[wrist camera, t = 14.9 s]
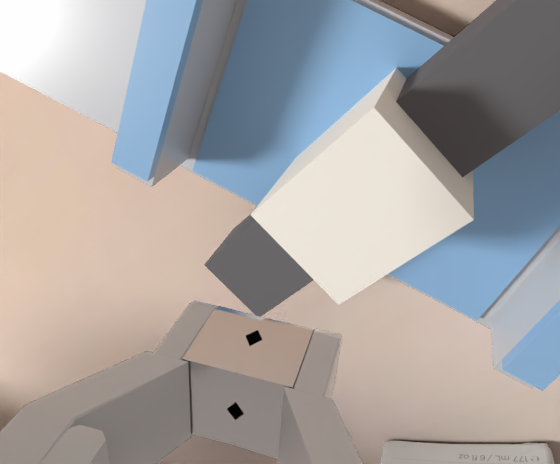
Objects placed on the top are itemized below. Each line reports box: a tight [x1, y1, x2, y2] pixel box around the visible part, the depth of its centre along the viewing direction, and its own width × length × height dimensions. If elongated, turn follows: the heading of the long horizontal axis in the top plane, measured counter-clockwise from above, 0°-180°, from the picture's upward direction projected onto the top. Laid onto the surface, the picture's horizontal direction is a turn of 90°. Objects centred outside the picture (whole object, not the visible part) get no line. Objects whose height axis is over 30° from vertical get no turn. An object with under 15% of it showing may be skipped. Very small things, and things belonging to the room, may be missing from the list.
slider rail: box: [0, 0, 560, 391], centre depth 18 cm, size 9×32×4 cm, turn 68°
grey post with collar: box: [205, 0, 560, 317], centre depth 17 cm, size 14×4×5 cm, turn 137°
